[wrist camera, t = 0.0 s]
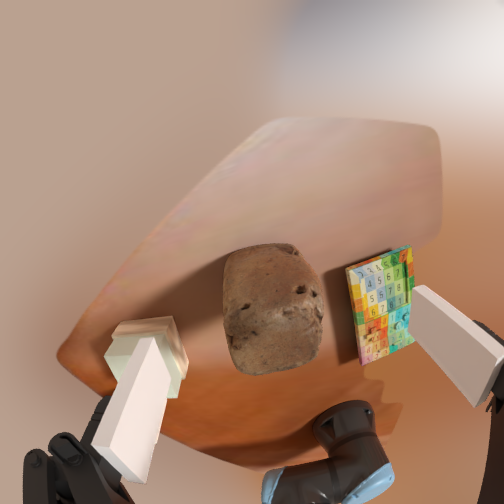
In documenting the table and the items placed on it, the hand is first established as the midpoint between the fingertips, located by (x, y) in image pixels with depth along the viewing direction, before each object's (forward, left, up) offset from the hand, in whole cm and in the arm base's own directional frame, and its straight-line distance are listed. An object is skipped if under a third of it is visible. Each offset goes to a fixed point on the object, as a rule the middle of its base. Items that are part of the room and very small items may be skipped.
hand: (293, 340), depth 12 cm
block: (-6, 0, -28) cm, 29 cm away
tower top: (-17, +21, -23) cm, 36 cm away
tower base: (-17, +21, -28) cm, 39 cm away
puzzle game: (-17, -19, -28) cm, 39 cm away
